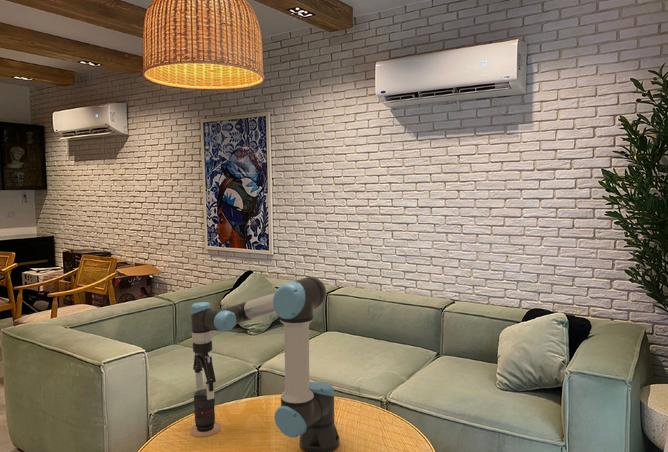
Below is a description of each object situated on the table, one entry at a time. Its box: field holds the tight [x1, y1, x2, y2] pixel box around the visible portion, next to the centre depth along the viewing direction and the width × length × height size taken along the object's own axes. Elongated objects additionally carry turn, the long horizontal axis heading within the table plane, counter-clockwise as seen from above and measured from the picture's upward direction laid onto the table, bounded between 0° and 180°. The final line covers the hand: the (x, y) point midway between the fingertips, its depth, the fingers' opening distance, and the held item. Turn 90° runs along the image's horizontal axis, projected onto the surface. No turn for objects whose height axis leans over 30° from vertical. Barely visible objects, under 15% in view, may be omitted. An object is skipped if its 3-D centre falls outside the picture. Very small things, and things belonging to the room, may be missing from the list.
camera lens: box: [193, 388, 216, 432], centre depth 201 cm, size 8×8×15 cm
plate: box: [189, 421, 222, 438], centre depth 202 cm, size 12×12×1 cm
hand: (205, 393), depth 201 cm, fingers open, 13 cm apart
